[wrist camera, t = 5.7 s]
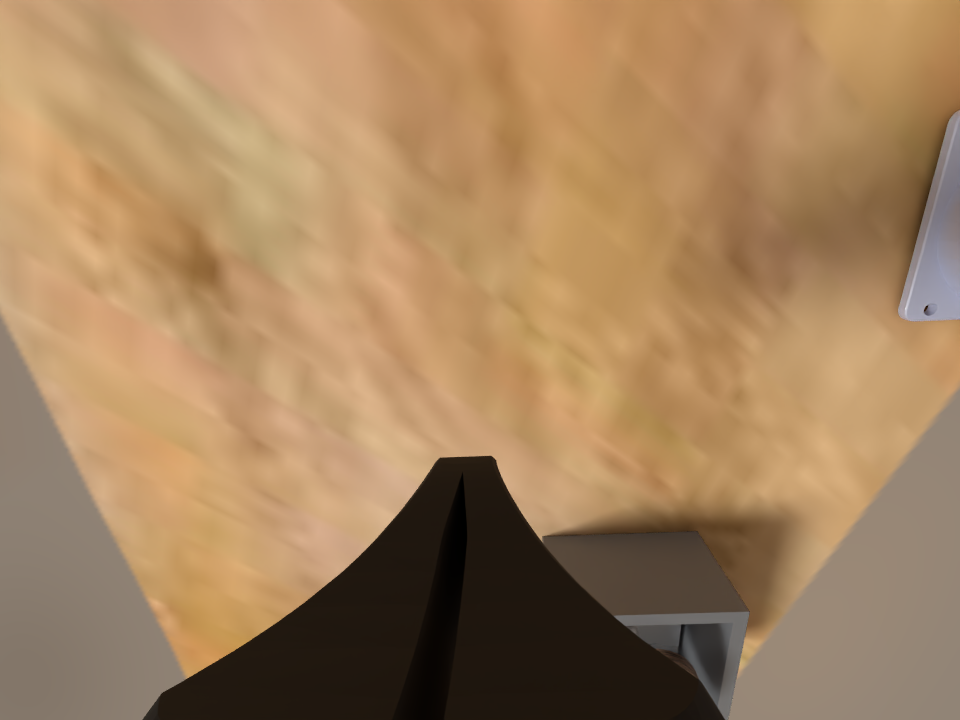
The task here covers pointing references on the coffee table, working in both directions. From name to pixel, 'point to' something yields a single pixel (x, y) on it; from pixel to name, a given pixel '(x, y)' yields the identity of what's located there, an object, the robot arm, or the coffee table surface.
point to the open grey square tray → (665, 595)
